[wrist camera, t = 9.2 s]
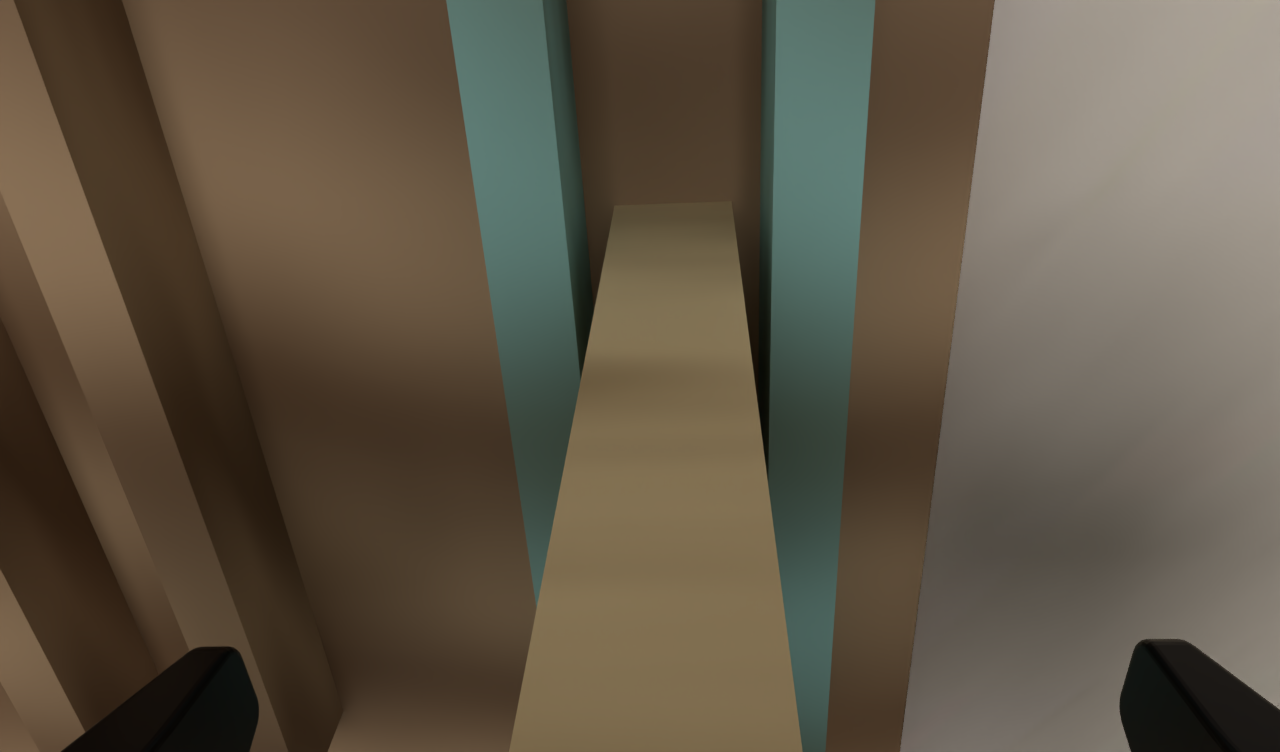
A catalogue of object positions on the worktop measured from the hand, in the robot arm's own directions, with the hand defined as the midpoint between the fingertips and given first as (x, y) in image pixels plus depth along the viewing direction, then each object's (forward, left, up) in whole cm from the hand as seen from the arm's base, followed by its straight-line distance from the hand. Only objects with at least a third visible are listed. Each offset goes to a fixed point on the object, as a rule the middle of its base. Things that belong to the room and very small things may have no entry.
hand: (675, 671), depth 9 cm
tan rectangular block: (0, 0, -6) cm, 6 cm away
